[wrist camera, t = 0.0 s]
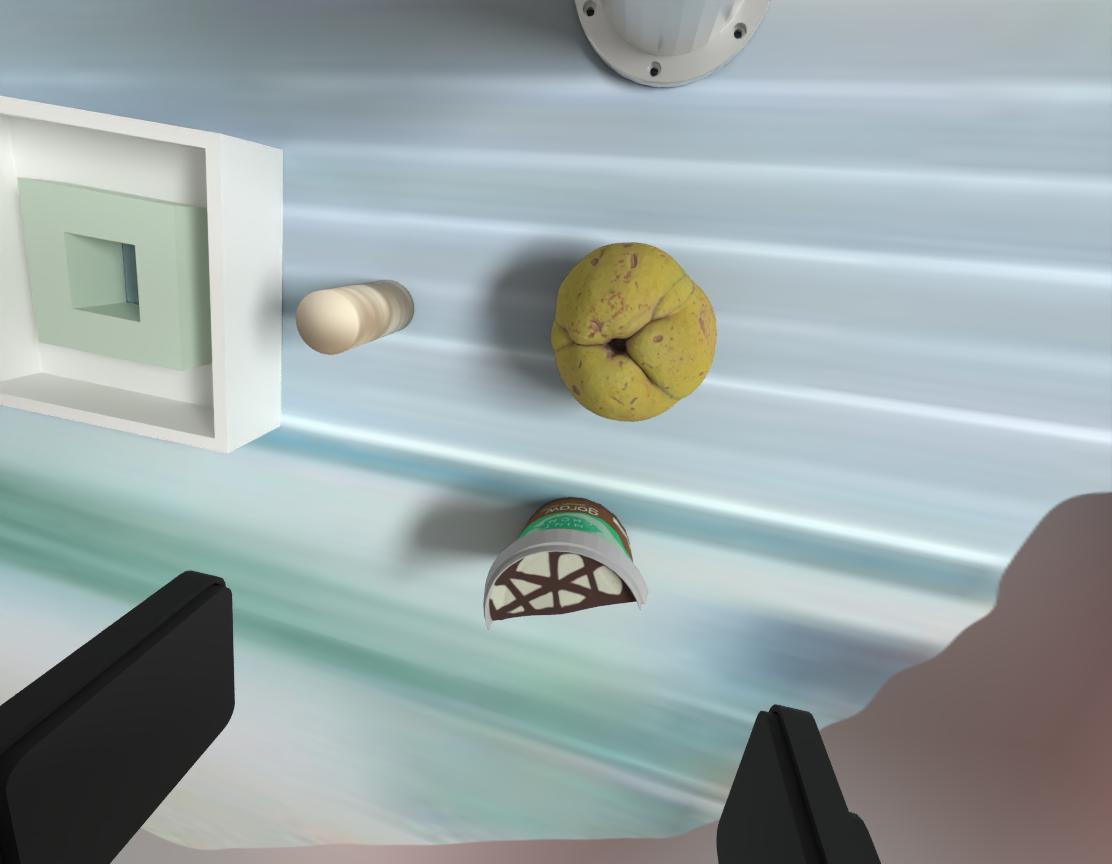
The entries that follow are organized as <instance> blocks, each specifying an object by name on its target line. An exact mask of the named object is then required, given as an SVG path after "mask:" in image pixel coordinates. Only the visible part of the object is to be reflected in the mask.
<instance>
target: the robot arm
mask: <svg viewBox="0 0 1112 864" xmlns="http://www.w3.org/2000/svg"><path fill="white" fill-rule="evenodd" d="M770 1H771V0H575V5H576V9H577V13H578V16H579V19H580V22H581V25H582V27H583V30H584V33H585V35H586V37H587V38H588V40H589V42H590V44H591V45H592V47H593V49H594V50H595V52H596V53H597V54H598V55H599V56H600V57H601V58H602V60H603V61H604V62H605V63H606V64H607V65H608V66H609V67H611V68H612V69H613V70H615V71H616V72H617V73H619V74H620V75H621V76H623V77H625V78H627V79H630V80H632V81H634V82H636V83H639V84H643V85H648V86H653V87H677V86H681V85H686V84H690V83H694V82H696V81H698V80H701V79H703V78H705V77H707V76H710V75H712V74H713V73H714V72H716V71H717V70H719V69H720V68H722V67H723V66H725V65H726V64H728V63H729V62H730V61H731V60H732V59H733V58H734V57H735V56H736V55H737V54H738V53H739V52H740V51H741V50H742V49H743V48H744V47H745V45H746V44H747V42H748V41H749V40H750V38H751V37H752V36H753V34H754V33H755V32H756V30H757V28H758V26H759V24H760V23H761V21H762V19H763V18H764V16H765V13H766V11H767V9H768V6H769V4H770ZM591 9H592V10H594V15H593V16H590V17H589V16H587V12H588V11H589V10H591ZM736 31H739V32H740V33H741V37H740V38H739V39H737V38H735V37H734V33H735V32H736ZM652 69H657V71H658V74H657V75H656V76H652V75H651V74H650V71H651V70H652ZM234 705H235V694H234V654H233V613H232V592H231V590H230V589H229V588H226V585H225V582H224V580H223V578H220V577H217V576H213V575H208V574H204V573H200V572H195V571H185V572H184V573H182V574H180V575H179V576H177V577H176V578H175V579H173V580H172V581H170V582H169V583H168V584H166V585H165V586H164V587H162V588H161V589H160V590H158V591H157V592H155V593H154V594H153V595H151V596H150V597H149V598H147V599H146V600H145V601H143V602H142V603H140V604H139V605H138V606H136V607H135V608H134V609H132V610H131V611H129V612H128V613H127V614H125V615H124V616H123V617H121V618H120V619H119V620H117V621H116V622H114V623H113V624H112V625H110V626H109V627H108V628H106V629H105V630H103V631H102V632H101V633H99V634H98V635H97V636H95V637H94V638H93V639H91V640H90V641H88V642H87V643H86V644H84V645H83V646H82V647H80V648H79V649H77V650H76V651H75V652H73V653H72V654H71V655H69V656H68V657H67V658H65V659H64V660H62V661H61V662H60V663H58V664H57V665H56V666H54V667H53V668H51V669H50V670H49V671H47V672H46V673H45V674H43V675H42V676H41V677H39V678H38V679H36V680H35V681H34V682H32V683H31V684H30V685H28V686H27V687H25V688H24V689H23V690H21V691H20V692H19V693H17V694H16V695H15V696H13V697H12V698H10V699H9V700H8V701H6V702H5V703H4V704H2V705H1V706H0V864H110V863H111V862H112V860H113V859H114V858H115V857H116V856H117V855H118V853H119V852H120V851H121V850H122V849H123V847H124V846H125V845H126V844H127V843H128V841H129V840H130V839H131V838H132V837H133V836H134V834H135V833H136V832H137V831H138V830H139V829H140V827H141V826H142V825H143V824H144V823H145V821H146V820H147V819H148V818H149V817H150V816H151V814H152V813H153V812H154V811H155V810H156V808H157V807H158V806H159V805H160V804H161V803H162V801H163V800H164V799H165V798H166V797H167V795H168V794H169V793H170V792H171V791H172V790H173V788H174V787H175V786H176V785H177V784H178V782H179V781H180V780H181V779H182V778H183V777H184V775H185V774H186V773H187V772H188V771H189V769H190V768H191V767H192V766H193V765H194V764H195V762H196V761H197V760H198V759H199V758H200V756H201V755H202V754H203V753H204V752H205V751H206V749H207V748H208V747H209V746H210V745H211V743H212V742H213V741H214V740H215V739H216V738H217V736H218V735H219V734H220V733H221V732H222V730H223V729H224V728H225V727H226V725H227V724H228V722H229V720H230V719H231V716H232V714H233V710H234ZM717 854H718V862H719V864H881V862H880V860H879V857H878V855H877V852H876V849H875V847H874V844H873V842H872V839H871V837H870V834H869V832H868V830H867V828H866V826H865V824H864V822H863V820H862V819H861V818H860V817H859V816H858V815H857V814H855V813H851V812H849V811H848V808H847V805H846V803H845V800H844V797H843V795H842V792H841V790H840V787H839V784H838V781H837V779H836V776H835V774H834V771H833V768H832V765H831V762H830V760H829V757H828V754H827V752H826V749H825V746H824V744H823V741H822V738H821V735H820V733H819V730H818V727H817V725H816V722H815V719H814V718H813V716H812V714H811V713H809V712H807V711H802V710H798V709H794V708H789V707H785V706H781V705H773V706H772V707H771V708H770V710H769V712H765V711H760V712H759V714H758V716H757V718H756V721H755V724H754V726H753V729H752V732H751V735H750V738H749V740H748V743H747V746H746V749H745V751H744V754H743V757H742V760H741V763H740V765H739V768H738V771H737V774H736V776H735V779H734V782H733V785H732V788H731V790H730V793H729V796H728V799H727V801H726V804H725V807H724V810H723V813H722V815H721V818H720V821H719V824H718V829H717Z"/></svg>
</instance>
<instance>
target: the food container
mask: <svg viewBox="0 0 1112 864" xmlns="http://www.w3.org/2000/svg"><path fill="white" fill-rule="evenodd" d="M647 595H648V590H647V587H646V584H645V581H644V579H643V577H642V575H641V573H640V572H639V570H638V568H637V567H636V566H635V565H634V563H633V559H632V554H631V548H630V543H629V539H628V536H627V533H626V530H625V529H624V527H623V526H622V524H621V523H620V521H619V520H618V519H617V517H616V516H615V515H614V514H613V513H611V512H610V511H609V510H607V509H606V508H605V507H604V506H602V505H601V504H598V503H595V502H593V501H590V500H587V499H584V498H573V497H569V498H561V499H557V500H554V501H552V502H549V503H547V504H545V505H544V506H542V507H541V508H540V509H539V510H537V511H536V512H535V513H534V515H533V516H532V517H531V518H530V520H529V522H528V523H527V525H526V526H525V528H524V530H523V531H522V533H521V535H520V536H519V538H518V540H516V541H515V542H513V543H512V544H510V545H509V546H508V547H507V548H506V549H505V550H503V551H502V552H501V553H500V555H499V556H498V557H497V559H496V560H495V561H494V563H493V565H492V567H491V569H490V570H489V573H488V576H487V580H486V584H485V593H484V617H485V621H486V625H487V630H489V628H490V626H491V624H492V622H493V621H494V620H504V619H507V618H513V617H521V616H531V615H555V614H565V613H570V612H575V611H579V610H584V609H588V608H593V607H598V606H605V605H612V604H619V603H627V602H635V601H637V603H638V606H639V609H640V610H641V604H645V601H646V598H647Z"/></svg>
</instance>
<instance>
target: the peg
mask: <svg viewBox="0 0 1112 864" xmlns="http://www.w3.org/2000/svg"><path fill="white" fill-rule="evenodd" d="M413 314H414V303H413V299H412V297H411V295H410V293H409V292H408V290H407V289H406V288H405V287H404V286H402V285H401V284H399V283H397V282H395V281H391V280H384V281H377V282H371V283H365V284H358V285H352V286H345V287H339V288H332V289H326V290H320V291H314V292H311V293H310V294H308V295H306V296H305V297H304V298H303V299H302V300H301V302H300V303H299V305H298V308H297V312H296V324H297V328H298V331H299V333H300V335H301V337H302V339H303V340H304V341H305V342H306V344H307V345H308V346H310V347H311V348H312V349H314V350H315V351H317V352H320V353H323V354H328V355H333V354H338V353H341V352H344V351H347V350H349V349H352V348H354V347H357V346H360V345H362V344H365V343H368V342H370V341H373V340H376V339H378V338H381V337H384V336H386V335H389V334H392V333H394V332H397V331H400V330H402V329H404V328H405V327H406V326H407V325H408V324H409V323H410V322H411V320H412V318H413Z"/></svg>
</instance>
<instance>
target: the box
mask: <svg viewBox="0 0 1112 864" xmlns="http://www.w3.org/2000/svg"><path fill="white" fill-rule="evenodd" d="M122 243H126V244H131V245H135V254H136V268H137V281H138V295H139V305H138V304H133V303H128V302H127V301H126V288H125V276H124V263H123V251H122ZM282 243H283V150H282V149H278V148H274V147H270V146H266V145H262V144H259V143H255V142H251V141H247V140H243V139H239V138H235V137H231V136H227V135H224V134H220V133H214V132H208V131H202V130H196V129H191V128H185V127H179V126H173V125H167V124H162V123H156V122H150V121H144V120H138V119H132V118H127V117H121V116H115V115H109V114H103V113H97V112H92V111H86V110H80V109H74V108H68V107H63V106H57V105H51V104H45V103H39V102H33V101H28V100H22V99H16V98H10V97H4V96H0V405H3V406H8V407H12V408H17V409H22V410H26V411H31V412H36V413H40V414H45V415H50V416H54V417H59V418H64V419H68V420H73V421H78V422H83V423H87V424H92V425H97V426H101V427H106V428H111V429H115V430H120V431H125V432H129V433H134V434H139V435H143V436H148V437H153V438H158V439H162V440H167V441H172V442H176V443H181V444H186V445H190V446H195V447H200V448H204V449H209V450H214V451H218V452H223V453H229V452H231V451H233V450H235V449H237V448H239V447H241V446H243V445H245V444H247V443H249V442H250V441H252V440H254V439H256V438H258V437H260V436H262V435H264V434H266V433H268V432H270V431H272V430H274V429H275V428H277V427H279V426H281V362H282Z"/></svg>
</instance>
